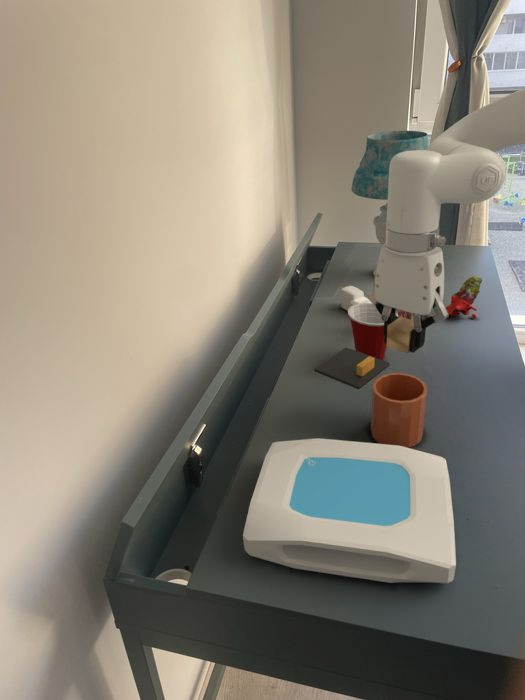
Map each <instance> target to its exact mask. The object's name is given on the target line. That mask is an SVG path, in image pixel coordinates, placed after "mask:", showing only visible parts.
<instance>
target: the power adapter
mask: <svg viewBox="0 0 525 700" xmlns="http://www.w3.org/2000/svg"><path fill="white" fill-rule="evenodd" d="M361 303H372V302H371V301H370V300H369V299H368V297H367V296H365V294H364V291H363V290H361V289H360V288H358V287H355V286H354V285H347V286H345V287H342V288H341V290H340V307H341V308H342V309H344V310H346V311H347V312H348V309H349V308H350V307H351V306H354V305H356V304H361Z"/></svg>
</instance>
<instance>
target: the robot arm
mask: <svg viewBox="0 0 525 700" xmlns="http://www.w3.org/2000/svg"><path fill="white" fill-rule="evenodd" d="M520 145H525V87H523V88H521V89H519V90H516V91H514V92H511V93H510V94H507V95H506V96H503V97H501V98H499V99H497V100H495V101H493V102H491V103H488V104H486V105H484V106H482V107H480V108H478V109H476V110H474V111H472V112H471V113H468V114H467V115H466V116H464V117H462V118H461V119H460V120H458V121H456V122H455V123H454V124H452V125H451V126H450V127H448V128H447V129H446V130H445V131H443V132H441V133H440V134H439V135H438V136H436V137H435V139H433V140H432V141H431V142H430V143H428V147H427V148H426V149H425V150H413V151H405V152H401V153H398V154H396V155H395V156H394V157H393V158H392V160H391V162H390V168H389V185H388V200H387V202H388V204H387V224H386V243H384V244H383V245H382V244H381V248H380V252H379V255H378V260H377V265H376V269H377V270H376V278H375V287H374V286H373V288H372V290H371V291H370V292H369V293H368V295H367V298H368V299H369V300H370V301H371V302H372V303H373V304H374V305H375V306H376V309H377V310H378V311H379V313H380V314H381V319H382V321H384V336H385V338H384V343H386V344H387V329H388V325H389V324H391V323H392V322H393V321H395V320H396V319H398V316H396V313H397V309H400V310H403V311H407V312H410V313H412V320H413V321H414V329H413V330H412V331H411V337H410V349H409V350H410V352H409V353H416V351H418V350H419V349H420V348H422V347H423V346H424V345H425V341H426V330H427V328H428V327H430V326H432V325H433V324H438V323H440V322H443V321H445V320H446V319H448V318H449V316H450V315H448V312H447V310H446V308H445V307H446V306H445V304H444V302H443V301H444V294H445V293H444V292H445V264H444V263H445V262H444V255H443V248H442V247H444V246H445V245H446V242H447V237H446V236H442V235H441V234H440V219H441V210H442V209H441V208H442V205H443V204H460V205H461V204H465V205H466V204H467V205H468V204H471V205H472V204H478V203H482V202H484V201H487V200H489V199H491V198H493V197H494V196H495V195H496V194H497V193H498V192H499V191H500V190H501V189H502V187H503V185H504V184H505V180H506V176H507V169H506V165H505V162H504V160H503V159H502V158H501V156H500V155H499V154H497V151H500V150H503V149H507V148H511V147H514V146H520ZM439 246H440V247H439ZM432 309H433V313H432V314H431V311H432Z"/></svg>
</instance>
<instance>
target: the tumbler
mask: <svg viewBox="0 0 525 700" xmlns="http://www.w3.org/2000/svg"><path fill="white" fill-rule="evenodd" d="M427 396H428V386H427V385H426V383H425V381H423V380H422V379H421V378H419V377H418V376H415V375H412V374H409V373H403V372H391V373H390V372H389V373H386V374H383V375H380V376H378V377H377V378H376V379H374V380H373V382H372V386H371V407H370V408H371V409H370V410H371V411H370V434H371V436H372V438H373V439H374V441H376V442H377V443H378V444H386V445H397V446H402V447H406V448H413V447H414V446H416V445H418V444H419V443H420V442H421V441H422V440H423V435H424V428H425V418H426V407H427V398H428V397H427Z"/></svg>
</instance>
